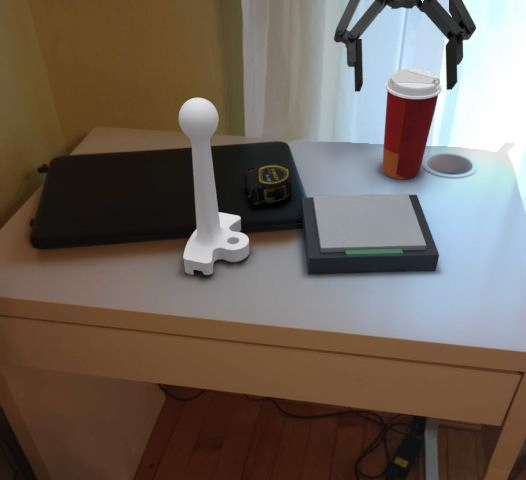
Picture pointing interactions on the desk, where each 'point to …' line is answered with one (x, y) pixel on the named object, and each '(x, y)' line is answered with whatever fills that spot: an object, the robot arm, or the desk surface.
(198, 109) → the joystick
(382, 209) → the scale
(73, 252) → the desk surface
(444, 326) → the desk surface
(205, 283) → the desk surface
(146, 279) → the desk surface
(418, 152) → the paper cup
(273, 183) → the tape measure
